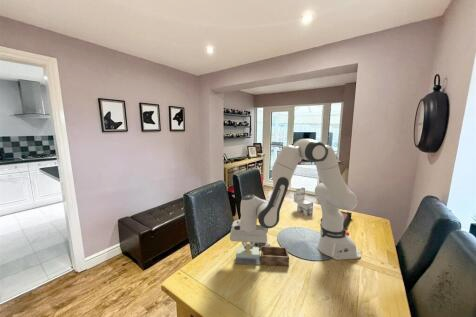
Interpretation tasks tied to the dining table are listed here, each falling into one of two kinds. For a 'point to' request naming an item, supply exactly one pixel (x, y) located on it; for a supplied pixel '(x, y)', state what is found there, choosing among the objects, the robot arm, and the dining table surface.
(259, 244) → the packaged product
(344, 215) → the book
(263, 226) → the robot arm
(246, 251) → the lid
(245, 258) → the mat
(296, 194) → the toy llama
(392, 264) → the dining table surface
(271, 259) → the box
